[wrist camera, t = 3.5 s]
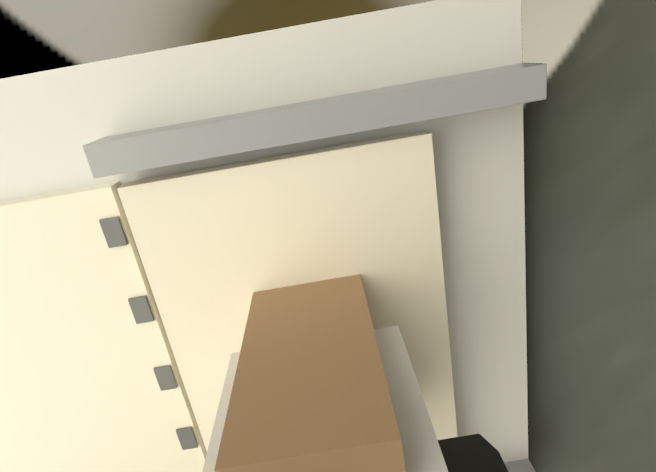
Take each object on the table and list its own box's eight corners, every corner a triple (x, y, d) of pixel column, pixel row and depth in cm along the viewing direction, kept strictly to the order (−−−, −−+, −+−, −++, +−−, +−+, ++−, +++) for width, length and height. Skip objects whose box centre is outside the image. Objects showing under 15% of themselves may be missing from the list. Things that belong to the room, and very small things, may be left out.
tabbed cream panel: (425, 129, 12) (547, 205, 6) (456, 470, 17) (545, 714, 10) (125, 182, 12) (-52, 307, 6) (233, 506, 17) (191, 768, 11)
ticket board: (504, -10, 12) (546, -23, 10) (518, 487, 19) (545, 542, 17) (-371, 148, 13) (-506, 166, 11) (-64, 580, 19) (-110, 646, 17)
